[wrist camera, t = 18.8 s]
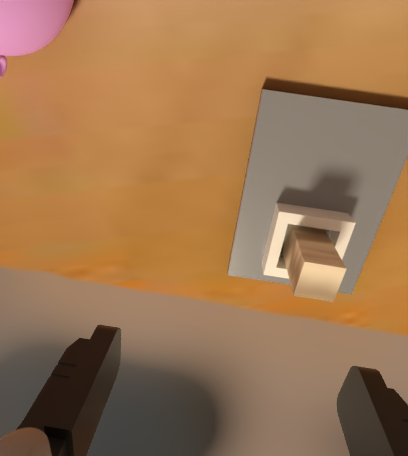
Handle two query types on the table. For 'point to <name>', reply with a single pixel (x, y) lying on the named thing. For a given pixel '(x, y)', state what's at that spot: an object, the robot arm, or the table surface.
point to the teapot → (29, 25)
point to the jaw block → (312, 263)
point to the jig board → (316, 180)
